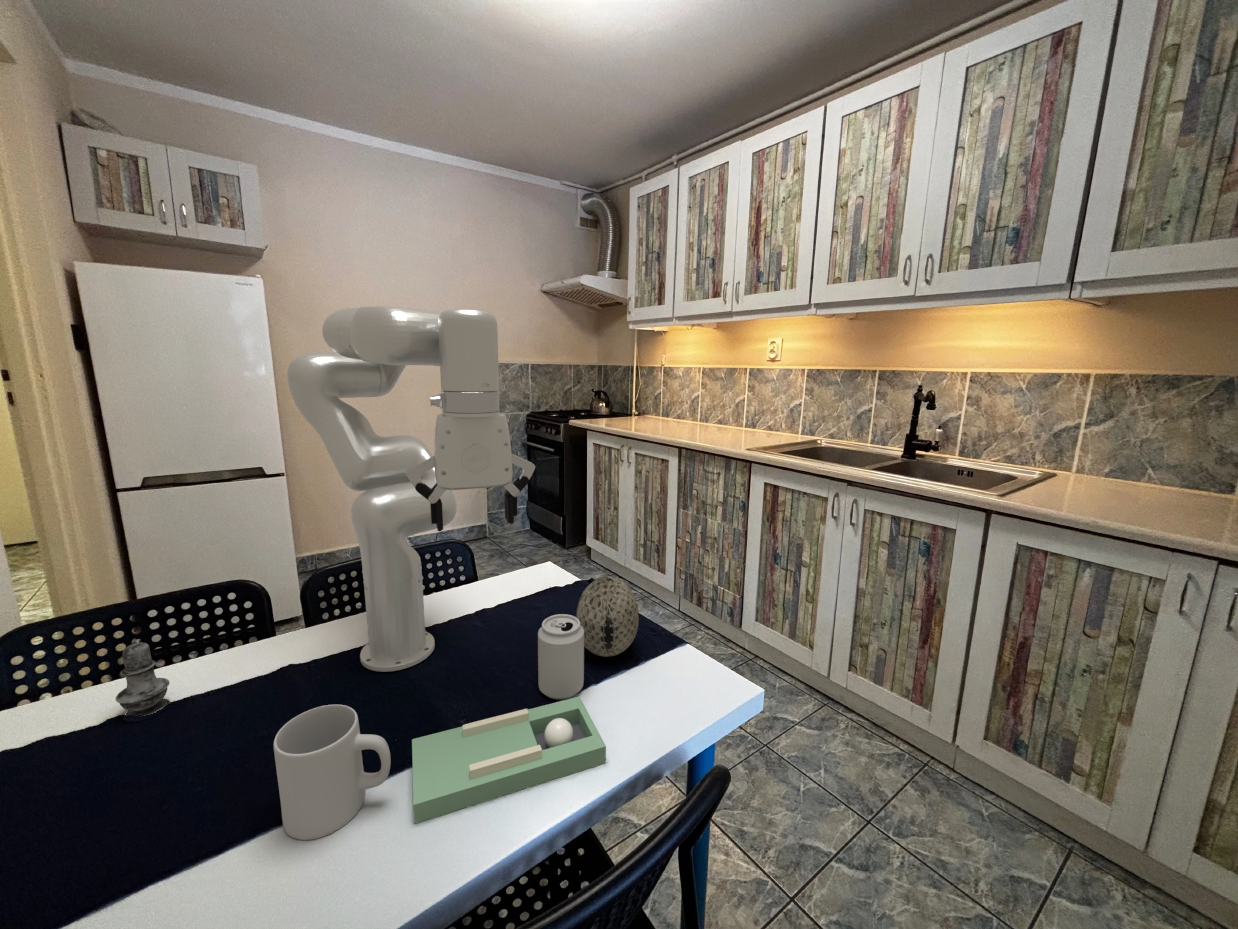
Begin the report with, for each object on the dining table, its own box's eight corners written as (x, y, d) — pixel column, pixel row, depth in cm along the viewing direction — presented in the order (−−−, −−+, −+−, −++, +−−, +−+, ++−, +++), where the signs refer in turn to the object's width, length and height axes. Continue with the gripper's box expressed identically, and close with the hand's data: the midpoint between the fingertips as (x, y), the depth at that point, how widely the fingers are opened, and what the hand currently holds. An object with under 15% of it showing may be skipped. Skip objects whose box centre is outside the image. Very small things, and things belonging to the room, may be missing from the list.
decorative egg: (635, 635, 98) (637, 565, 96) (639, 671, 87) (642, 592, 84) (577, 635, 98) (577, 565, 95) (573, 671, 87) (574, 592, 84)
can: (576, 706, 78) (576, 637, 75) (531, 699, 79) (530, 631, 77) (588, 677, 85) (589, 613, 82) (547, 671, 86) (547, 608, 84)
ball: (548, 743, 70) (535, 725, 69) (571, 724, 72) (559, 706, 70) (558, 763, 67) (544, 744, 66) (582, 742, 68) (569, 723, 67)
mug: (267, 845, 54) (255, 759, 52) (305, 781, 63) (296, 705, 60) (381, 834, 56) (374, 750, 54) (403, 773, 64) (398, 699, 62)
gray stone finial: (180, 705, 76) (169, 634, 74) (131, 729, 71) (116, 654, 68) (161, 693, 78) (149, 625, 76) (111, 716, 73) (97, 643, 71)
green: (413, 756, 67) (411, 731, 66) (579, 711, 76) (579, 689, 76) (414, 824, 57) (412, 796, 56) (605, 762, 67) (606, 738, 66)
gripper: (401, 407, 60) (410, 540, 63) (540, 406, 67) (541, 526, 70) (401, 402, 67) (409, 523, 70) (527, 402, 74) (529, 511, 77)
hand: (475, 524), depth 70 cm, fingers open, 9 cm apart
